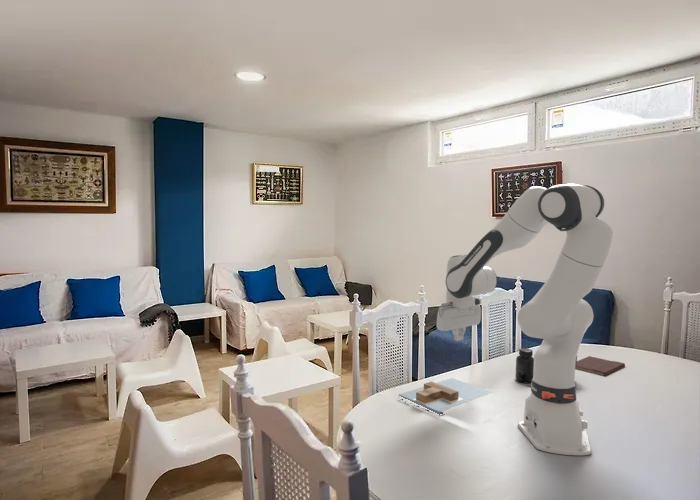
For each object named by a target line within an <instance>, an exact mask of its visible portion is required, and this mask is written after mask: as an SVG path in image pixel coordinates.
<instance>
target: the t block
mask: <svg viewBox="0 0 700 500" xmlns="http://www.w3.org/2000/svg"><path fill="white" fill-rule="evenodd" d="M437 383H438V382H434V381H429V382H426V383H423V387H424V390H422V391H419V392H416V400H418V401H421V402H423V403H427V402H430V401H433V400H436V399H439V398H443V399H446V400H448V401H453V400H456V399H458V397H459V391H456V390H453V389H451V388H448V387H445V386H443V385H440V384H437Z"/></svg>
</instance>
